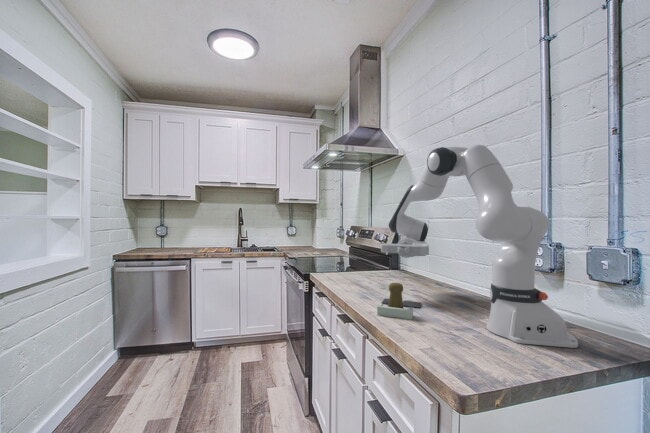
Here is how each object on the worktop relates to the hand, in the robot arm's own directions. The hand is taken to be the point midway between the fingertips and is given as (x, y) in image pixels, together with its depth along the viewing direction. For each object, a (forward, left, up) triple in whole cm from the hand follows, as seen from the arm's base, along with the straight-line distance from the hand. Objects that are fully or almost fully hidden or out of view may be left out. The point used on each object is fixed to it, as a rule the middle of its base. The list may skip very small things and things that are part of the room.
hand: (402, 250), depth 120 cm
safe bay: (0, +16, -22) cm, 27 cm away
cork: (0, +14, -22) cm, 26 cm away
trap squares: (0, +1, -22) cm, 22 cm away
